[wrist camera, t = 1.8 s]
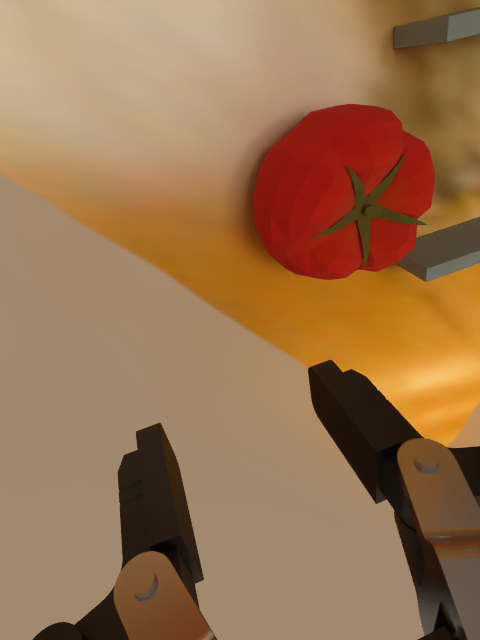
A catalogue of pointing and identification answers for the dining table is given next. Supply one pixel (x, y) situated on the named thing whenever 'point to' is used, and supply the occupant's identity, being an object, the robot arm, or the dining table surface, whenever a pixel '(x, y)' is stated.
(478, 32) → the crate
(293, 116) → the dining table surface
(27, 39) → the dining table surface
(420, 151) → the tomato
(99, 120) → the dining table surface
